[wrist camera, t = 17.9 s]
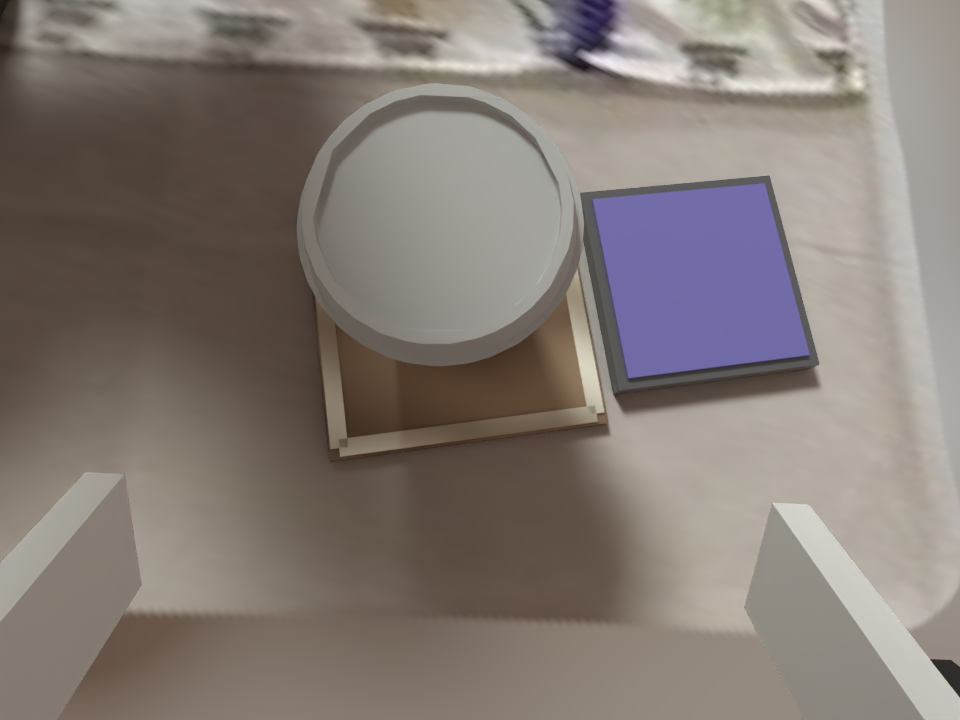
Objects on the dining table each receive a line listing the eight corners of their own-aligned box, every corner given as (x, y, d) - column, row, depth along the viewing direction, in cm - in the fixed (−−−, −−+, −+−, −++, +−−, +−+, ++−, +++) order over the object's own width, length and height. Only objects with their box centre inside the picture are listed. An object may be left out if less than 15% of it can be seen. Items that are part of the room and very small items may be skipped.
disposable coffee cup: (451, 166, 35) (433, 12, 23) (593, 294, 34) (652, 204, 22) (314, 302, 34) (222, 216, 22) (457, 438, 33) (441, 425, 21)
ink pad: (576, 201, 37) (581, 191, 36) (760, 184, 38) (771, 173, 37) (613, 394, 34) (620, 389, 33) (808, 368, 36) (821, 363, 35)
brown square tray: (304, 201, 35) (303, 195, 35) (558, 178, 37) (560, 173, 36) (330, 461, 32) (329, 460, 32) (605, 424, 34) (608, 422, 33)
